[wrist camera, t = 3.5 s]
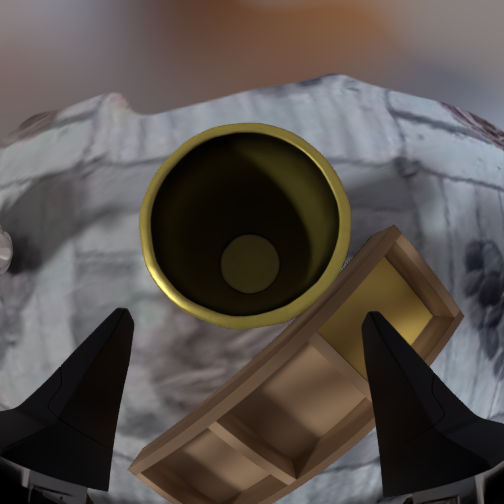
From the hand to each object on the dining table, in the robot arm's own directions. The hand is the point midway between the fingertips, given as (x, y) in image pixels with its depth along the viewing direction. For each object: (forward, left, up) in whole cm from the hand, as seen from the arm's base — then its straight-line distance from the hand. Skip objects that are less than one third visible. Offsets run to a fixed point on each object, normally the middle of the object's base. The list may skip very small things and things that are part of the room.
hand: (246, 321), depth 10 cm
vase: (+2, -2, -11) cm, 11 cm away
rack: (-8, +3, -11) cm, 14 cm away
